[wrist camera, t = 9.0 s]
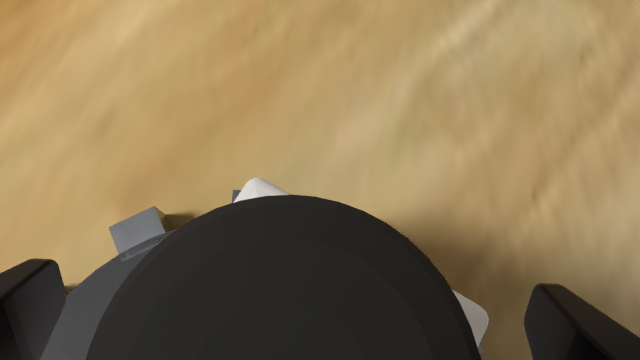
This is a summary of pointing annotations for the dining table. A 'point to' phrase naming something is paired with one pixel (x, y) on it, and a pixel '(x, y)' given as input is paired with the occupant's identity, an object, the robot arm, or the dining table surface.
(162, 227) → the sprocket plate
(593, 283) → the dining table surface
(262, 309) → the medicine bottle
